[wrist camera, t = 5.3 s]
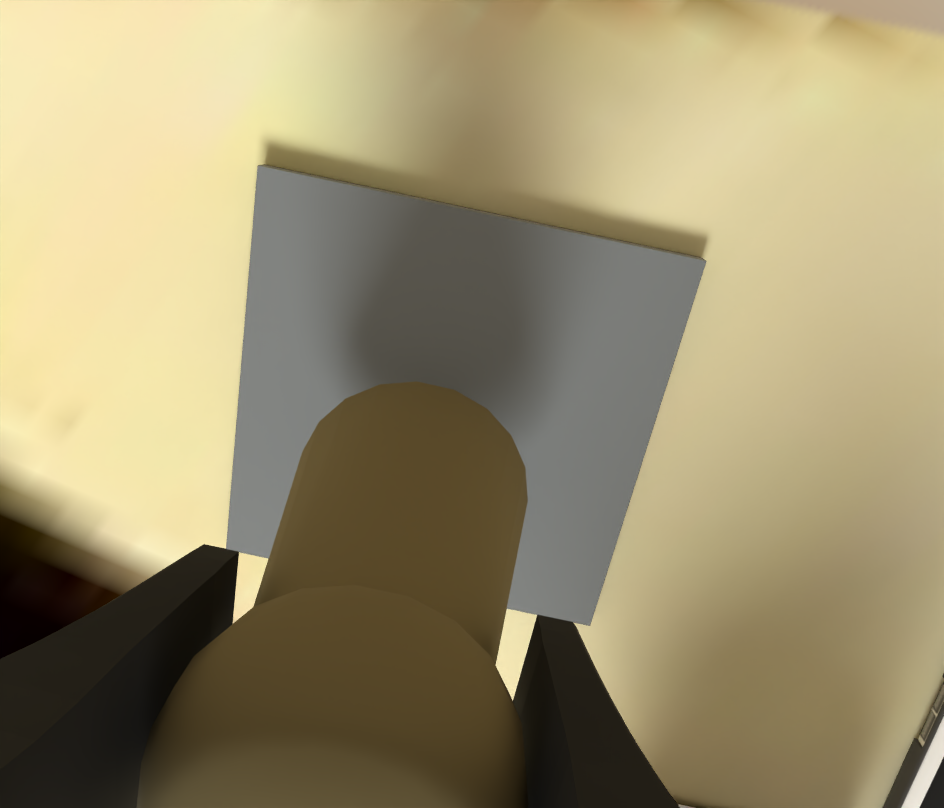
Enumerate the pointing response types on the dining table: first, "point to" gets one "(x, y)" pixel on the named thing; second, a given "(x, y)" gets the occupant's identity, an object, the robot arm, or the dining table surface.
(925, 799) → the cell phone
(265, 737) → the cork
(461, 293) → the slate mat
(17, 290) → the dining table surface
